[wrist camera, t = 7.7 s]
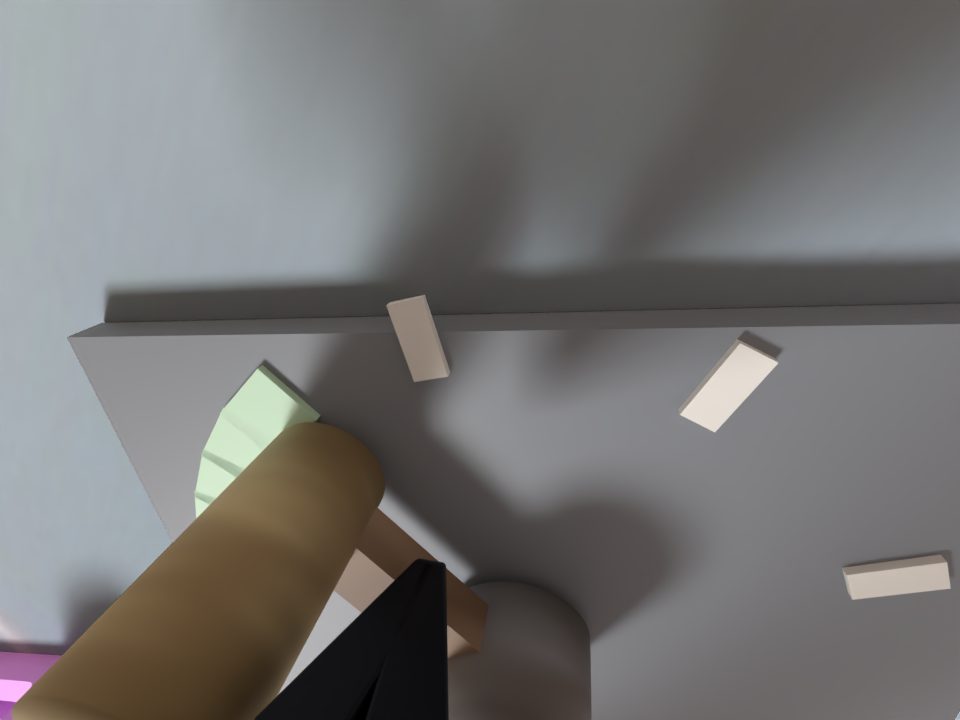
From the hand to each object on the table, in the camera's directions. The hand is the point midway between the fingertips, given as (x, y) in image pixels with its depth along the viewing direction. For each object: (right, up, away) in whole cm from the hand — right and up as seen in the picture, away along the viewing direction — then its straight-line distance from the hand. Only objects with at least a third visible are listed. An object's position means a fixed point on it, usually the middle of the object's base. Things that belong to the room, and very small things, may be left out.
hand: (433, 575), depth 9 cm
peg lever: (0, -1, +4) cm, 4 cm away
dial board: (+2, -3, +6) cm, 7 cm away
